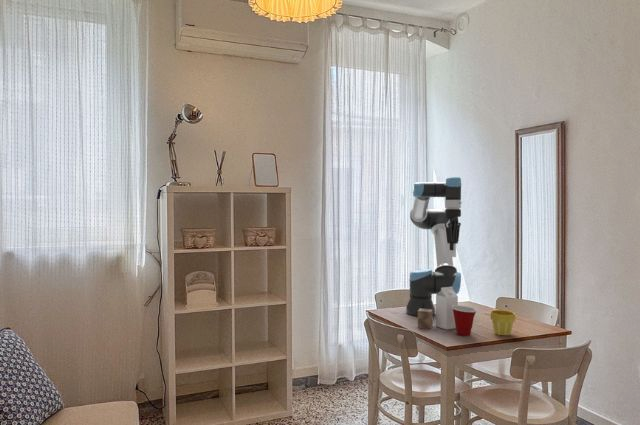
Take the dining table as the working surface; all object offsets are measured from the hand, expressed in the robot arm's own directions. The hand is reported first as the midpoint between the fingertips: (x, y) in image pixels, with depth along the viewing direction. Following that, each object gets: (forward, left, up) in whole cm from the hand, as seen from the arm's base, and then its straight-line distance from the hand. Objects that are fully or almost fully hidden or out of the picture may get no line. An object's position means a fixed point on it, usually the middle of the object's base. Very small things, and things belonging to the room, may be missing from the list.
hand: (452, 256), depth 229 cm
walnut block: (-6, -16, -33) cm, 37 cm away
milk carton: (+2, -10, -33) cm, 34 cm away
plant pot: (+26, -4, -33) cm, 42 cm away
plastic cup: (+14, -16, -33) cm, 39 cm away
